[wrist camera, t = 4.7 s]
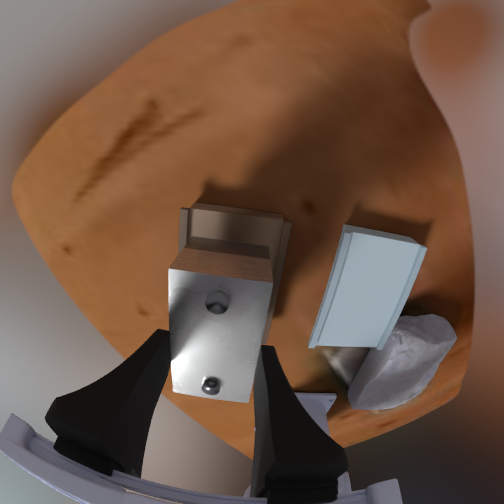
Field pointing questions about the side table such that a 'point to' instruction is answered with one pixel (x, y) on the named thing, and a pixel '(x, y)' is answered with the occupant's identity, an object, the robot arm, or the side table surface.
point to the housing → (218, 316)
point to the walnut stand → (240, 236)
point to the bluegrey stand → (366, 288)
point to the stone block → (402, 363)
